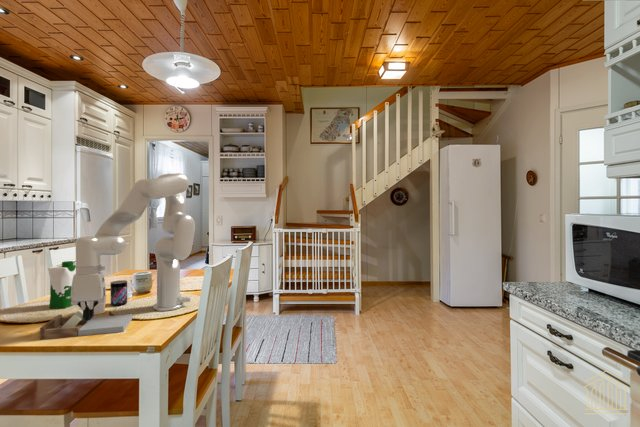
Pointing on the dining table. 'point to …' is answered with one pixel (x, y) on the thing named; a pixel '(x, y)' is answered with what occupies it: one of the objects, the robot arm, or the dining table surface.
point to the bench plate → (105, 325)
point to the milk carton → (61, 284)
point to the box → (54, 331)
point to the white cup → (99, 307)
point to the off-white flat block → (74, 320)
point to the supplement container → (118, 292)
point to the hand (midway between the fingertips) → (88, 319)
